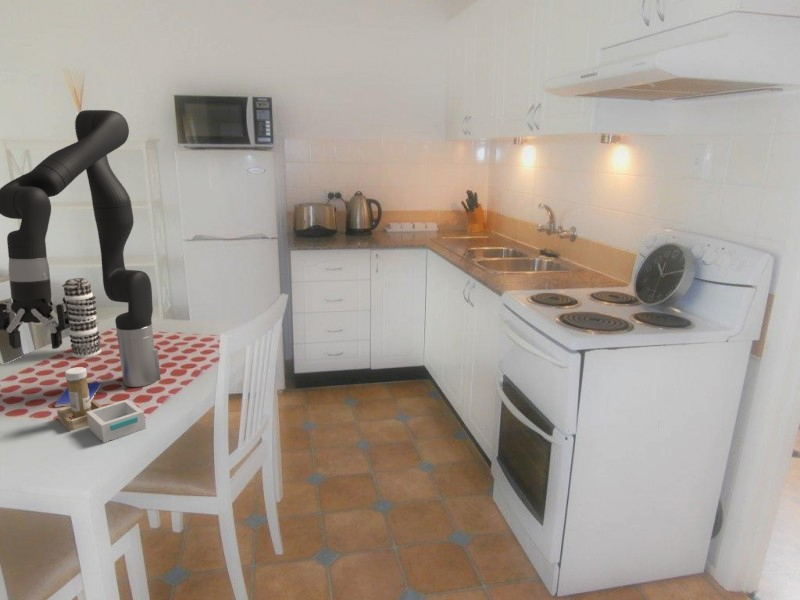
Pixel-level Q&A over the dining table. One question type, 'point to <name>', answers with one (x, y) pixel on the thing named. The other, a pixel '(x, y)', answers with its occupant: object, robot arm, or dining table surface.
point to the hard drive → (65, 399)
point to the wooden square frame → (77, 422)
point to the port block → (116, 420)
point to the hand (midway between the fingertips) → (36, 347)
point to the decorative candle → (82, 318)
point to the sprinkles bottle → (78, 391)
